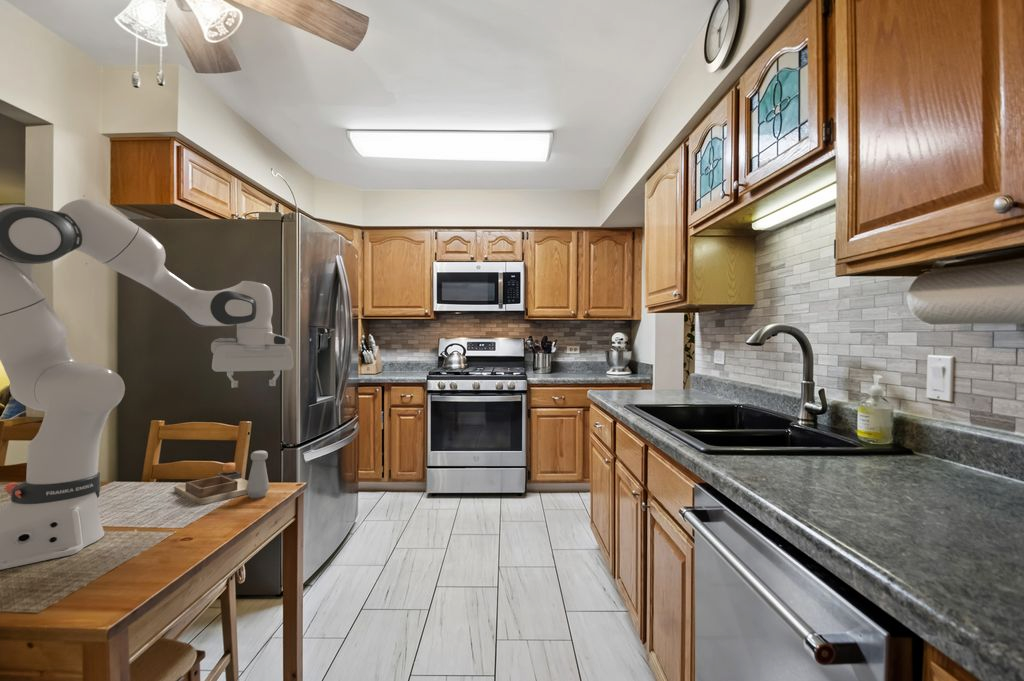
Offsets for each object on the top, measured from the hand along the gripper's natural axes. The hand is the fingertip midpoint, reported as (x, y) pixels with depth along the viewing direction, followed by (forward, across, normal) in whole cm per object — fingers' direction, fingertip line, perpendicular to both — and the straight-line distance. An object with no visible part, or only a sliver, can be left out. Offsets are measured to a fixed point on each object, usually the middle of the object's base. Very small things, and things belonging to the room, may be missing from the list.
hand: (253, 386), depth 129 cm
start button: (+29, -4, +19) cm, 34 cm away
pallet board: (+32, -7, +11) cm, 35 cm away
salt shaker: (+32, +2, +1) cm, 32 cm away
